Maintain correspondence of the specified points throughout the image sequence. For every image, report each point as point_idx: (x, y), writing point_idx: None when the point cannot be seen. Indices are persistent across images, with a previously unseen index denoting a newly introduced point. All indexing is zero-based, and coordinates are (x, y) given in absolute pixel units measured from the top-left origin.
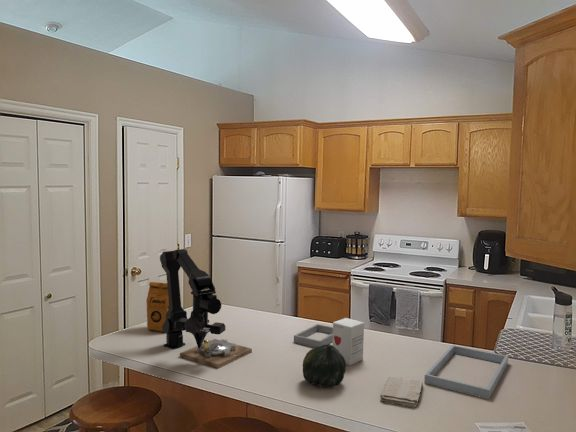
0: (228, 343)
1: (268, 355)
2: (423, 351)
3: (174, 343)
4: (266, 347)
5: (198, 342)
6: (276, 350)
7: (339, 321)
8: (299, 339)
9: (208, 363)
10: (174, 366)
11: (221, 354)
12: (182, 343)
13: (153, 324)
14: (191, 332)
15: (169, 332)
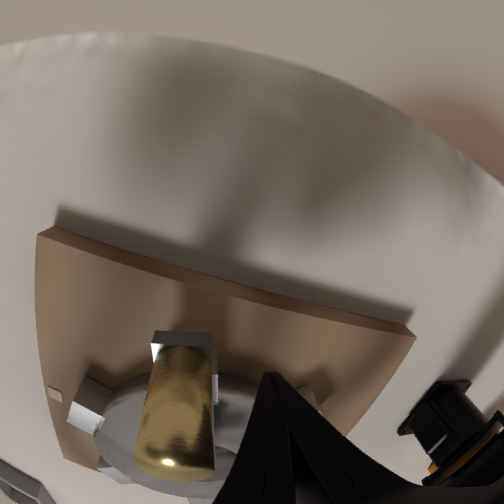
0: (151, 484)
1: (6, 418)
2: None
3: (445, 403)
4: (65, 471)
5: (285, 421)
6: (25, 450)
7: None
8: (22, 484)
9: (138, 261)
10: (392, 163)
11: (112, 393)
12: (412, 425)
13: (490, 438)
14: (488, 501)
15: (493, 422)
